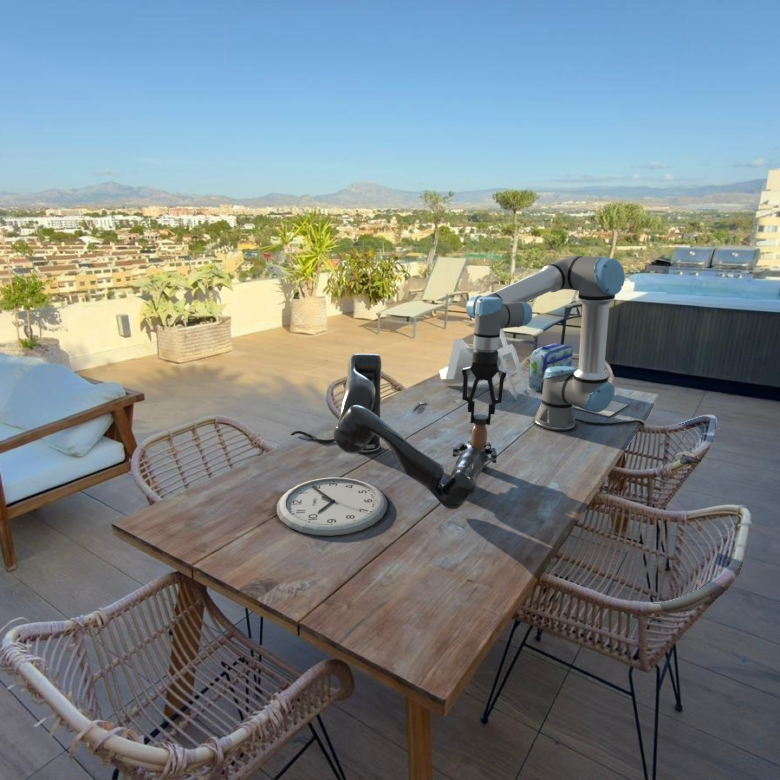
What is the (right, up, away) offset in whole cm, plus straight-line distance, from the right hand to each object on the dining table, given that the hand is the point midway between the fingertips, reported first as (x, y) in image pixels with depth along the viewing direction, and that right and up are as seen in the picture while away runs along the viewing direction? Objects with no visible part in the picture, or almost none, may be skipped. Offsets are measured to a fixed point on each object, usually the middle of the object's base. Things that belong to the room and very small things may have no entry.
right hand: (480, 422), depth 163 cm
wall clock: (-44, -21, -20) cm, 53 cm away
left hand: (+1, -7, +5) cm, 9 cm away
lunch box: (+48, +11, +89) cm, 102 cm away
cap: (0, +2, 0) cm, 2 cm away
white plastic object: (+13, +9, +80) cm, 82 cm away
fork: (-16, +3, +59) cm, 61 cm away
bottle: (0, -14, +5) cm, 15 cm away
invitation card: (+63, +3, +63) cm, 89 cm away
